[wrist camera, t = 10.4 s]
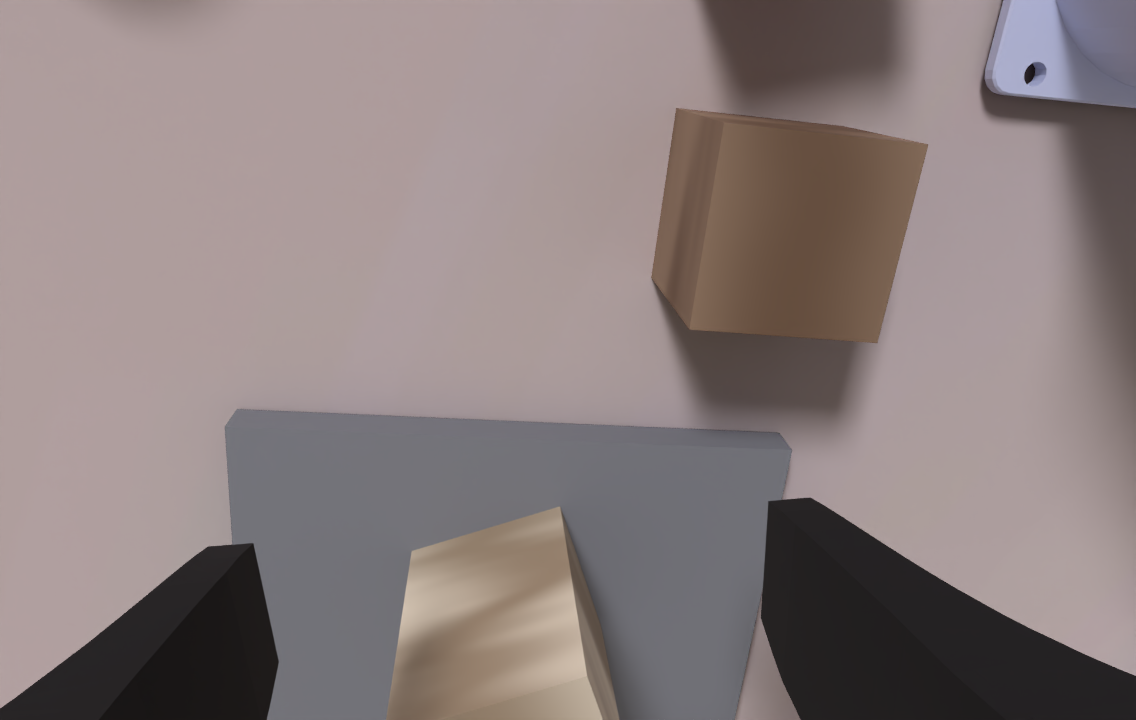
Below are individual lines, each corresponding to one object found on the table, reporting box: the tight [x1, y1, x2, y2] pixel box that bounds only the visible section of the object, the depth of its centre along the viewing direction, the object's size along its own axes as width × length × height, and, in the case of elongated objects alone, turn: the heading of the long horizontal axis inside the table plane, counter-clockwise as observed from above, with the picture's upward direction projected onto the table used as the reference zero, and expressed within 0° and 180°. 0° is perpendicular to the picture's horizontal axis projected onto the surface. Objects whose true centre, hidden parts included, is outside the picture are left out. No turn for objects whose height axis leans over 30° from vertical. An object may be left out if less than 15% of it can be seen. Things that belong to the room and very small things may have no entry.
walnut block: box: [651, 108, 928, 343], centre depth 17 cm, size 4×4×4 cm
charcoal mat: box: [225, 409, 792, 720], centre depth 22 cm, size 14×9×1 cm, turn 85°
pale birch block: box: [386, 507, 619, 720], centre depth 18 cm, size 4×4×6 cm
